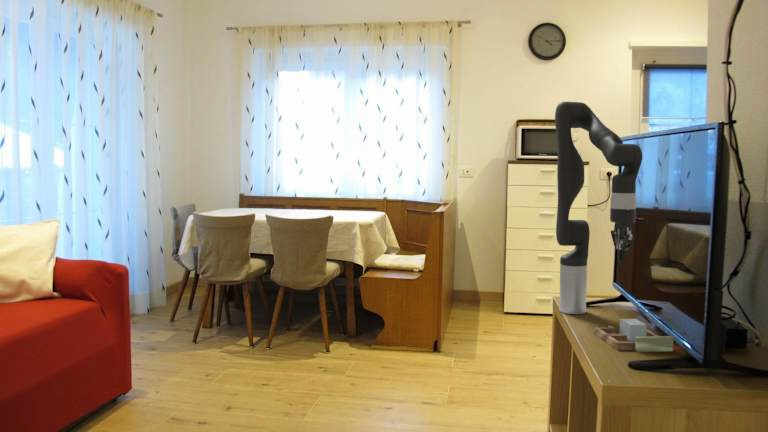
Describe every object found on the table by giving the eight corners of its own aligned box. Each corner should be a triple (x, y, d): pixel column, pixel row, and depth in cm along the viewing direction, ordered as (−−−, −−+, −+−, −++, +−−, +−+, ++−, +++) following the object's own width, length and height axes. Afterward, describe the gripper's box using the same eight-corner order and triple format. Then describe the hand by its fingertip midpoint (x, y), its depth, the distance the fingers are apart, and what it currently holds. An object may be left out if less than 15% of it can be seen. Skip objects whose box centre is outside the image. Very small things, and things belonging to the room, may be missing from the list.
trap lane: (592, 332, 187) (592, 319, 187) (640, 331, 188) (640, 319, 188) (619, 351, 167) (619, 338, 167) (673, 351, 168) (673, 337, 168)
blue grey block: (619, 334, 185) (619, 319, 185) (635, 334, 185) (635, 318, 185) (629, 341, 178) (630, 324, 178) (646, 340, 178) (646, 324, 178)
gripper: (603, 206, 194) (601, 258, 196) (620, 208, 181) (618, 264, 182) (625, 205, 194) (624, 258, 196) (644, 208, 181) (642, 264, 183)
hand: (621, 261), depth 189 cm, fingers closed
